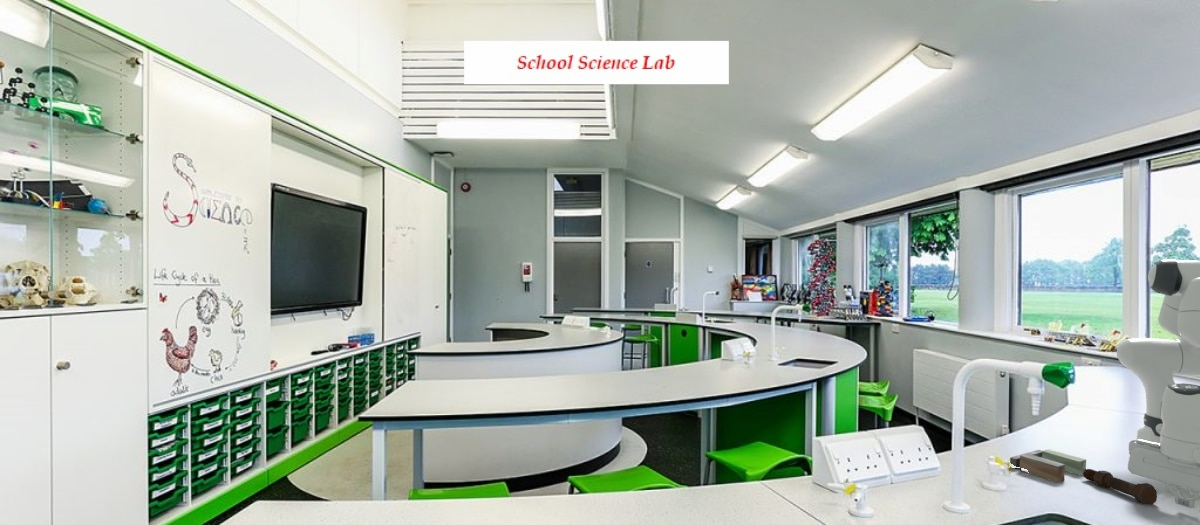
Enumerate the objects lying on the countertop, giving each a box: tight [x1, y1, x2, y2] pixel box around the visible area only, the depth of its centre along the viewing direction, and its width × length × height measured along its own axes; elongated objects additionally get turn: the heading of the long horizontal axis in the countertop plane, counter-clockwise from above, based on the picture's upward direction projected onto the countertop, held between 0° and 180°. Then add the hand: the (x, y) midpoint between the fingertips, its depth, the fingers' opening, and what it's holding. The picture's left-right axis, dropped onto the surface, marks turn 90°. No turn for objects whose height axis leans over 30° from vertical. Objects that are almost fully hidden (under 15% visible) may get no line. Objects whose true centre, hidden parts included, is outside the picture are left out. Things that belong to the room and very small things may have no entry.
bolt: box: [1082, 468, 1158, 506], centre depth 139 cm, size 6×5×15 cm
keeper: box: [1009, 449, 1087, 483], centre depth 152 cm, size 17×12×4 cm
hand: (1184, 505), depth 127 cm, fingers closed
